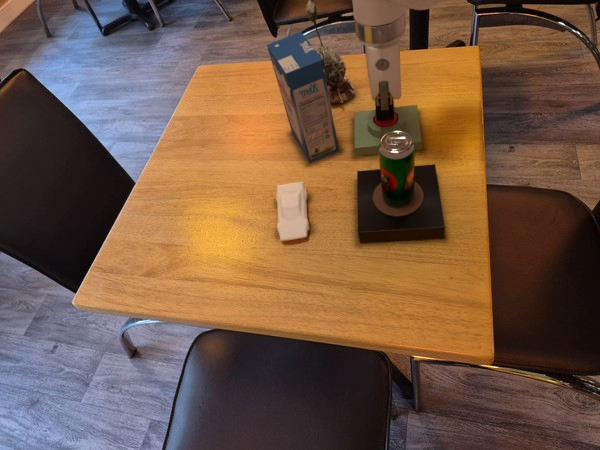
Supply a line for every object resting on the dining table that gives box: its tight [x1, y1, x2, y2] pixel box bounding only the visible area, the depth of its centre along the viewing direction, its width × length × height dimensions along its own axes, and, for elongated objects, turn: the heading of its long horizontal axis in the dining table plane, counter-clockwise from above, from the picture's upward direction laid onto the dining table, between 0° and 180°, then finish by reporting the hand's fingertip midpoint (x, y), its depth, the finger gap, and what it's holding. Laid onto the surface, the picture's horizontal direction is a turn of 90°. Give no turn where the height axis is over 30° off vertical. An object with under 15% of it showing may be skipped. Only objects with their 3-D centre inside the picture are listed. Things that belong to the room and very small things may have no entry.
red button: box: [375, 113, 397, 127], centre depth 81 cm, size 4×4×2 cm
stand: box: [356, 163, 446, 244], centre depth 72 cm, size 13×13×3 cm
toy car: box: [275, 181, 310, 242], centre depth 75 cm, size 6×12×3 cm, turn 3°
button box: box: [353, 104, 423, 157], centre depth 82 cm, size 12×10×4 cm
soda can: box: [378, 131, 416, 206], centre depth 66 cm, size 5×5×12 cm
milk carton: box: [266, 31, 340, 164], centre depth 79 cm, size 10×6×20 cm, turn 20°
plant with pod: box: [305, 0, 356, 105], centre depth 86 cm, size 8×11×20 cm
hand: (385, 117), depth 81 cm, fingers closed
